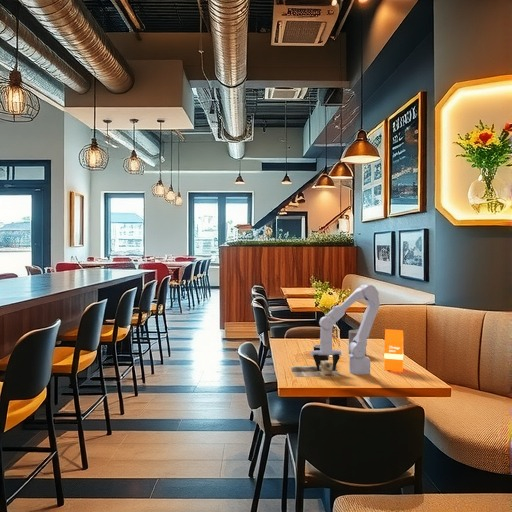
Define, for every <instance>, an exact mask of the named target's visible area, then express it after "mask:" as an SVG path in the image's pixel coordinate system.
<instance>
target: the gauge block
mask: <svg viewBox="0 0 512 512" xmlns="http://www.w3.org/2000/svg"><path fill="white" fill-rule="evenodd" d="M320 366H321V372H322V373H323V374H332V366H333V362H331V361H330V360H328V361H321V364H320Z"/></svg>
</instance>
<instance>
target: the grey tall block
mask: <svg viewBox="0 0 512 512" xmlns="http://www.w3.org/2000/svg"><path fill="white" fill-rule="evenodd" d="M358 330H359V328H356V329H350V330H348V345H349V344H350V343H351V342H352V341H353V339H354V337H355V336H356V335H357V333H358ZM349 354H351V352H350V351H349V350H348V355H349ZM366 355H367V353H366V354H365V356H366Z"/></svg>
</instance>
